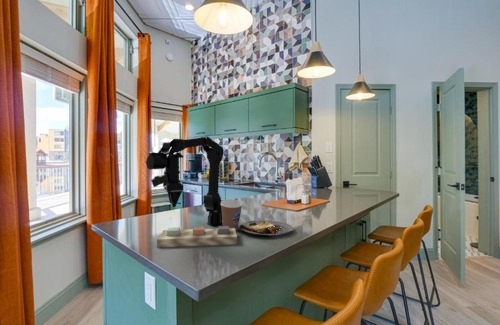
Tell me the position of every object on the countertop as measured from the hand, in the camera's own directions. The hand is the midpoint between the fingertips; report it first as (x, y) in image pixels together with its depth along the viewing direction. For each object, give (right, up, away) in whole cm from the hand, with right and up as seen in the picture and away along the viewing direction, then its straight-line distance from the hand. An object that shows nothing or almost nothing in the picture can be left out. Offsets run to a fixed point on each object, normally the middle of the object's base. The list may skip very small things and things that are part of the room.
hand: (172, 205), depth 107 cm
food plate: (+40, -14, +10) cm, 44 cm away
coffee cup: (+24, -13, +13) cm, 30 cm away
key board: (+12, -14, -5) cm, 19 cm away
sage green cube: (+2, -12, -6) cm, 14 cm away
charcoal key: (+22, -12, -4) cm, 25 cm away
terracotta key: (+12, -12, -5) cm, 18 cm away
